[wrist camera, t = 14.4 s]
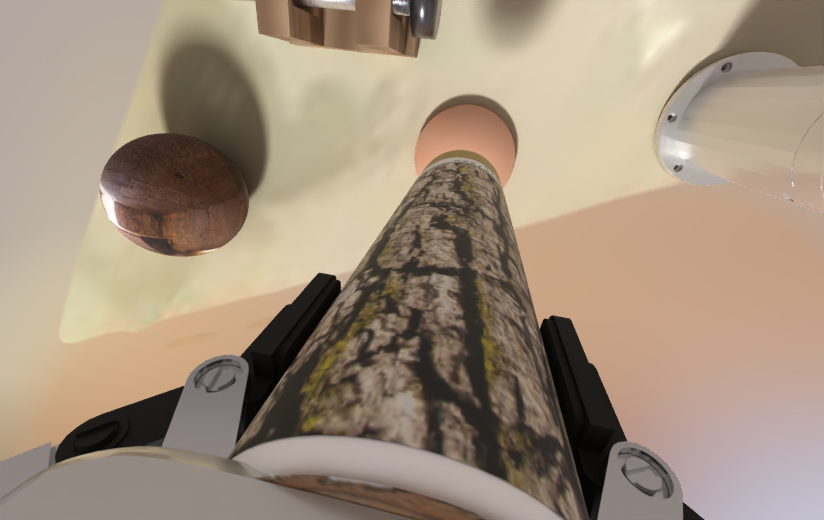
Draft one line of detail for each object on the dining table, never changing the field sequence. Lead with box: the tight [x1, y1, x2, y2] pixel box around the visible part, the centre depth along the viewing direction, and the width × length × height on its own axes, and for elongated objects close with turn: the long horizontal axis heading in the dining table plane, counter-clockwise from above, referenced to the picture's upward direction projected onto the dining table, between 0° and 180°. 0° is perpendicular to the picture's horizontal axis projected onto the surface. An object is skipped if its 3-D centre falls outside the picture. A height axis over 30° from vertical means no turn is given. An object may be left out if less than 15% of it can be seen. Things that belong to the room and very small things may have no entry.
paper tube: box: [228, 150, 589, 520], centre depth 16 cm, size 7×7×25 cm
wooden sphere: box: [100, 133, 249, 257], centre depth 41 cm, size 15×15×15 cm
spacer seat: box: [415, 104, 515, 188], centre depth 40 cm, size 12×12×1 cm
